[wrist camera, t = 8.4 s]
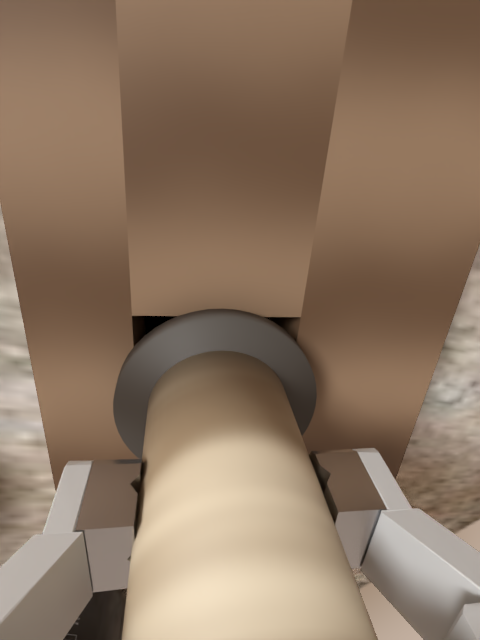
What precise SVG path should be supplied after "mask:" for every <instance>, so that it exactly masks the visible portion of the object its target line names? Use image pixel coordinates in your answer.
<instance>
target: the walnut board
mask: <svg viewBox="0 0 480 640" xmlns="http://www.w3.org/2000/svg"><path fill="white" fill-rule="evenodd" d="M0 203H1V209H2V214H3V219H4V224H5V229H6V235H7V240H8V245H9V250H10V255H11V261H12V266H13V271H14V276H15V281H16V287H17V292H18V297H19V302H20V307H21V313H22V318H23V323H24V328H25V333H26V339H27V344H28V349H29V354H30V359H31V365H32V370H33V375H34V380H35V386H36V391H37V396H38V401H39V406H40V412H41V417H42V422H43V427H44V432H45V438H46V443H47V448H48V453H49V458H50V464H51V469H52V474H53V479H54V484H55V490H56V491H57V488H58V485H59V482H60V479H61V476H62V473H63V470H64V467H65V466H66V464H67V463H68V461H85V460H115V459H139V458H137V457H136V456H135V455H134V454H133V453H132V452H131V451H130V450H129V448H128V447H127V446H126V444H125V443H124V442H123V440H122V438H121V436H120V435H119V433H118V430H117V427H116V424H115V420H114V414H113V399H114V393H115V388H116V384H117V380H118V376H119V373H120V370H121V367H122V365H123V363H124V361H125V359H126V357H127V355H128V354H129V353H130V351H131V350H132V349H133V347H134V346H135V345H136V344H137V343H138V342H139V341H140V340H141V339H142V338H143V337H144V336H145V316H180V315H183V314H187V313H190V312H194V311H200V310H206V309H235V310H241V311H246V312H250V313H253V314H256V315H259V316H262V317H269V320H270V321H273V322H274V323H276V324H277V325H279V326H280V327H282V328H283V329H284V330H285V331H287V332H288V333H289V334H290V335H291V336H292V337H293V338H294V339H295V341H296V342H297V343H298V344H299V346H300V347H301V349H302V351H303V353H304V354H305V356H306V358H307V360H308V362H309V364H310V366H311V369H312V371H313V374H314V377H315V382H316V389H317V399H316V407H315V410H314V414H313V417H312V419H311V422H310V424H309V426H308V428H307V429H306V431H305V433H304V434H303V436H302V438H303V441H304V444H305V446H306V449H307V452H308V454H309V453H310V452H311V451H322V450H340V449H361V448H375V449H376V450H377V451H378V452H379V453H380V455H381V457H382V458H383V460H384V462H385V463H386V465H387V467H388V468H389V470H390V472H391V473H392V475H393V477H394V479H396V476H397V473H398V471H399V468H400V465H401V462H402V459H403V457H404V454H405V451H406V448H407V445H408V443H409V440H410V437H411V434H412V431H413V429H414V426H415V423H416V420H417V417H418V415H419V412H420V409H421V406H422V404H423V401H424V398H425V395H426V392H427V390H428V387H429V384H430V381H431V378H432V376H433V373H434V370H435V367H436V364H437V362H438V359H439V356H440V353H441V350H442V348H443V345H444V342H445V339H446V336H447V334H448V331H449V328H450V325H451V322H452V320H453V317H454V314H455V311H456V308H457V306H458V303H459V300H460V297H461V294H462V292H463V289H464V286H465V283H466V280H467V278H468V275H469V272H470V269H471V267H472V264H473V261H474V258H475V255H476V253H477V250H478V247H479V244H480V0H0Z"/></svg>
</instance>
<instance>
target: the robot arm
mask: <svg viewBox="0 0 480 640" xmlns="http://www.w3.org/2000/svg"><path fill="white" fill-rule="evenodd" d="M309 457H310V460H311V462H312V465H313V468H314V470H315V473H316V476H317V478H318V481H319V484H320V486H321V489H322V492H323V494H324V497H325V500H326V502H327V505H328V508H329V510H330V513H331V516H332V518H333V521H334V524H335V526H336V529H337V532H338V534H339V537H340V540H341V542H342V545H343V548H344V550H345V553H346V556H347V558H348V561H349V564H350V566H351V569H352V568H361V571H362V572H363V573H364V575H365V576H366V577H367V578H368V579H369V580H370V581H371V582H372V583H373V584H374V586H375V587H376V588H377V589H378V590H379V591H380V592H381V593H382V594H383V595H384V596H385V598H386V599H387V600H388V601H389V602H390V603H391V604H392V605H393V606H394V607H395V609H396V610H397V611H398V612H399V613H400V614H401V615H402V616H403V617H404V618H405V619H406V621H407V622H408V623H409V624H410V625H411V626H412V627H413V628H414V629H415V630H416V632H417V633H418V634H419V635H420V636H421V637H422V638H423V639H424V640H480V552H479V551H477V550H476V549H474V548H473V547H472V546H471V545H469V544H468V543H466V542H465V541H464V540H462V539H461V538H459V537H458V536H457V535H455V534H454V533H453V532H451V531H450V530H448V529H447V528H446V527H444V526H443V525H441V524H440V523H439V522H437V521H436V520H434V519H433V518H432V517H430V516H429V515H428V514H426V513H425V512H423V511H422V510H421V509H419V508H412V507H411V505H410V504H409V502H408V500H407V499H406V497H405V495H404V494H403V492H402V490H401V489H400V487H399V485H398V484H397V482H396V480H395V479H394V477H393V475H392V473H391V472H390V470H389V468H388V467H387V465H386V463H385V462H384V460H383V458H382V457H381V455H380V453H379V452H378V451H377V450H376V449H375V448H361V449H340V450H322V451H311V452H310V453H309ZM142 470H143V460H142V459H115V460H85V461H68V463H67V464H66V466H65V467H64V470H63V473H62V476H61V479H60V482H59V485H58V488H57V491H56V494H55V497H54V500H53V503H52V506H51V509H50V512H49V515H48V518H47V521H46V524H45V527H44V530H43V533H42V534H37V535H33V536H32V537H31V538H30V539H29V540H28V541H27V542H26V543H25V544H24V545H23V546H22V547H21V548H20V549H19V550H17V551H16V552H15V553H14V554H13V555H12V556H11V557H10V558H9V559H8V560H7V561H6V562H5V563H4V564H3V565H2V566H1V567H0V640H63V639H64V638H65V636H66V635H67V633H68V632H69V630H70V629H71V627H72V626H73V624H74V623H75V621H76V620H77V618H78V617H79V615H80V614H81V612H82V611H83V609H84V608H85V606H86V605H87V603H88V602H89V601H90V599H91V598H92V596H93V594H92V593H93V592H101V591H109V590H117V589H126V588H127V587H128V578H129V569H130V560H131V552H132V548H133V544H134V542H135V535H136V526H137V517H138V508H139V506H138V496H139V492H140V488H141V481H142Z"/></svg>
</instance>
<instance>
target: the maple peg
mask: <svg viewBox="0 0 480 640" xmlns="http://www.w3.org/2000/svg"><path fill="white" fill-rule="evenodd" d="M316 399H317V389H316V382H315V377H314V374H313V371H312V369H311V366H310V364H309V362H308V360H307V358H306V356H305V354H304V353H303V351H302V349H301V347H300V346H299V344H298V343H297V342H296V341H295V339H294V338H293V337H292V336H291V335H290V334H289V333H288V332H287V331H285V330H284V329H283V328H282V327H280V326H279V325H277V324H276V323H274V322H273V321H270V320H268V319H266V318H264V317H262V316H259V315H256V314H253V313H250V312H246V311H241V310H235V309H206V310H200V311H194V312H190V313H187V314H183V315H180V316H177V317H175V318H173V319H170V320H168V321H166V322H164V323H162V324H161V325H159V326H157V327H156V328H154V329H153V330H151V331H150V332H149V333H148V334H146V335H145V336H144V337H143V338H142V339H141V340H140V341H139V342H138V343H137V344H136V345H135V346H134V347H133V349H132V350H131V351H130V353H129V354H128V355H127V357H126V359H125V361H124V363H123V365H122V367H121V370H120V373H119V376H118V380H117V384H116V388H115V393H114V399H113V414H114V420H115V424H116V427H117V430H118V433H119V435H120V436H121V438H122V440H123V442H124V443H125V444H126V446H127V447H128V448H129V450H130V451H131V452H132V453H133V454H134V455H135V456H136V457H137V458H139V459H142V460H143V470H142V481H141V488H140V492H139V496H138V506H139V508H138V517H137V526H136V535H135V542H134V544H133V548H132V552H131V560H130V569H129V578H128V587H127V596H126V605H125V614H124V623H123V631H122V640H378V639H377V636H376V633H375V631H374V628H373V625H372V623H371V620H370V617H369V615H368V612H367V609H366V607H365V604H364V601H363V599H362V596H361V593H360V590H359V588H358V585H357V582H356V580H355V577H354V574H353V572H352V569H351V566H350V564H349V561H348V558H347V556H346V553H345V550H344V548H343V545H342V542H341V540H340V537H339V534H338V532H337V529H336V526H335V524H334V521H333V518H332V516H331V513H330V510H329V508H328V505H327V502H326V500H325V497H324V494H323V492H322V489H321V486H320V484H319V481H318V478H317V476H316V473H315V470H314V468H313V465H312V462H311V460H310V457H309V454H308V452H307V449H306V446H305V444H304V441H303V438H302V436H303V434H304V433H305V431H306V429H307V428H308V426H309V424H310V422H311V419H312V417H313V414H314V410H315V407H316Z"/></svg>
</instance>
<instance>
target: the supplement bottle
mask: <svg viewBox="0 0 480 640" xmlns="http://www.w3.org/2000/svg"><path fill="white" fill-rule="evenodd" d="M92 594H93V596H92V598H91V599H90V601H89V602H88V603H87V605H86V606H85V608H84V609H83V611H82V612H81V614H80V615H79V617H78V618H77V620H76V621H75V623H74V624H73V626H72V627H71V629H70V630H69V632H68V633H67V635H66V636H65V638H64V639H63V640H122V631H123V623H124V614H125V605H126V596H125V594H124V593H123V591H122V590H121V589H117V590H109V591H101V592H93V593H92Z"/></svg>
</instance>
